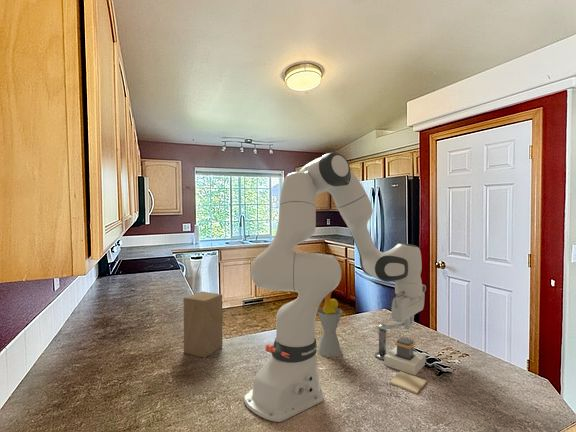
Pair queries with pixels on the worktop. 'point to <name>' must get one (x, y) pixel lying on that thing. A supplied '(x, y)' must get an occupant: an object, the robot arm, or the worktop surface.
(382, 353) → the post
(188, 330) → the wooden block
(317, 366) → the robot arm
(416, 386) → the coaster
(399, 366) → the socket
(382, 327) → the grey metal bar
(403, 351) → the plug
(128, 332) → the worktop surface
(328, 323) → the lava lamp
